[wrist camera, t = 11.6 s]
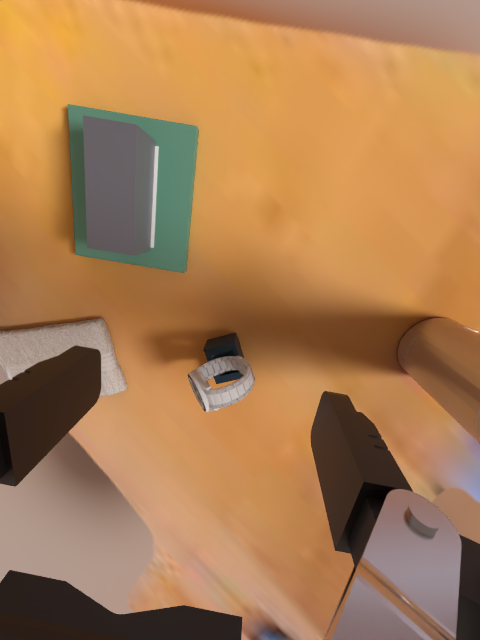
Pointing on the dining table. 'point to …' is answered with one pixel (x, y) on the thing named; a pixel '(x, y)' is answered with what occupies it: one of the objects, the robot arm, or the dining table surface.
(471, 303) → the dining table surface
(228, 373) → the watch
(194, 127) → the board
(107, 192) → the grey rectangular block
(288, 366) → the dining table surface
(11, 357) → the washcloth
